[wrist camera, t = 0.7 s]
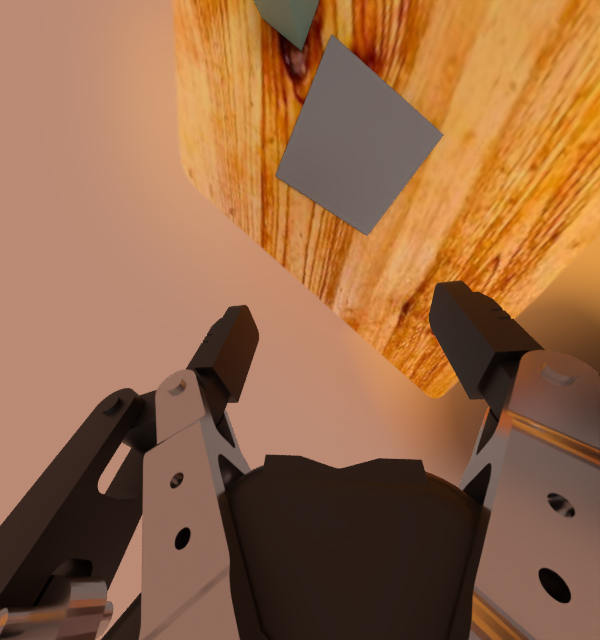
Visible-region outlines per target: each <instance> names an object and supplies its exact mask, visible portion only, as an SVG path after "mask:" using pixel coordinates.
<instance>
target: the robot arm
mask: <svg viewBox="0 0 600 640" xmlns="http://www.w3.org/2000/svg"><path fill="white" fill-rule="evenodd" d="M429 323H430V327H431V329H432V331H433V333H434V335H435V336H436V338H437V340H438V342H439V344H440V346H441V347H442V349H443V351H444V353H445V355H446V357H447V358H448V360H449V362H450V364H451V366H452V368H453V369H454V371H455V373H456V375H457V377H458V379H459V380H460V382H461V383H462V386H463V388H464V389H465V391H466V393H467V395H468V397H469V399H485V400H486V402H487V403H488V405H489V407H488V409H487V411H486V413H485V417H484V420H483V423H482V426H481V429H480V432H479V435H478V439H477V442H476V445H475V448H474V451H473V454H472V457H471V460H470V462H469V464H468V466H467V468H466V470H465V472H464V474H463V477H462V479H461V482H460V484H459V487H456V486H455V485H453V484H451V483H449V482H448V481H446V480H444V479H442V478H440V477H438V476H435V475H433V474H431V473H428V472H425V470H424V466H423V463H422V460H411V459H382V458H379V459H375V460H371V461H368V462H364V463H360V464H356V465H353V466H349V467H346V468H341V469H338V468H334V467H331V466H328V465H325V464H322V463H319V462H316V461H314V460H311V459H308V458H305V457H302V456H291V455H288V456H287V455H266V457H265V462H264V465H263V466H260V467H258V468H256V469H253V470H252V471H251V470H250V468H249V466H248V463H247V462H246V460H245V458H244V457H243V455H242V453H241V451H240V448H239V445H238V442H237V439H236V437H235V434H234V431H233V428H232V425H231V422H230V420H229V417H228V414H227V412H226V410H225V408H226V405H227V403H237V402H238V401H239V398H240V395H241V392H242V389H243V386H244V383H245V380H246V377H247V374H248V371H249V368H250V365H251V362H252V359H253V356H254V353H255V350H256V347H257V344H258V341H259V332H258V329H257V326H256V324H255V322H254V320H253V317H252V315H251V313H250V310H249V308H248V307H247V306H246V305H241V306H231V307H229V308H228V309H227V311H226V313H225V314H224V316H223V318H220V319H219V320H218V321H217V322H216V323H215V324H214V325H213V326H212V327H211V329H210V330H209V332H208V333H207V336H206V337H205V339H204V340H203V343H201V345H200V347H199V348H198V350H197V352H196V353H195V355H194V356H193V358H192V360H191V361H190V363H189V365H188V367H187V368H186V370H181V371H178V372H176V373H174V374H172V375H170V376H169V377H168V378H166V379H165V380H164V381H163V383H162V384H161V385H160V386H159V388H158V389H157V390H155V391H152V392H149V393H146V394H143V395H138V394H137V393H136V392H135V391H133V390H132V389H130V388H125V389H121V390H118V391H116V392H114V393H112V394H111V395H109V396H108V397H106V398H105V399H104V400H103V401H101V402H100V403H99V404H98V405H97V407H96V408H95V409H94V410H93V412H92V413H91V414H90V415H89V417H88V418H87V419H86V420H85V422H84V423H83V424H82V425H81V426H80V428H79V429H78V430H77V432H76V433H75V434H74V435H73V436H72V438H71V439H70V440H69V441H68V443H67V444H66V445H65V446H64V447H63V449H62V450H61V451H60V452H59V454H58V455H57V456H56V457H55V459H54V460H53V461H52V462H51V464H50V465H49V466H48V467H47V469H46V470H45V471H44V472H43V474H42V475H41V476H40V477H39V479H38V480H37V481H36V482H35V484H34V485H33V486H32V487H31V489H30V490H29V491H28V492H27V493H26V495H25V496H24V497H23V499H22V500H21V501H20V502H19V503H18V505H17V506H16V507H15V508H14V510H13V511H12V512H11V513H10V515H9V516H8V517H7V518H6V519H5V521H4V522H3V523H2V524H1V526H0V640H95V639H97V638H98V637H99V636H100V635H102V633H103V632H104V631H105V629H106V628H107V627H108V625H109V622H110V620H111V618H112V614H113V604H112V602H110V601H107V591H108V589H109V587H110V585H111V582H112V580H113V578H114V576H115V574H116V571H117V569H118V567H119V565H120V562H121V560H122V558H123V556H124V554H125V551H126V549H127V547H128V545H129V542H130V540H131V538H132V536H133V534H134V531H135V529H136V527H137V525H138V522H139V520H140V518H141V516H142V514H143V519H142V522H143V523H142V592H141V593H140V594H139V595H138V596H137V598H136V599H135V600H134V601H133V602H132V604H131V605H130V606H129V607H128V608H127V610H126V611H125V612H124V613H123V614H122V615H121V617H120V618H119V619H118V620H117V621H116V622H115V624H114V625H113V626H112V627H111V628H110V630H109V631H108V632H107V633H106V634H105V635H104V637H103V638H102V639H101V640H600V374H598V373H597V372H596V371H595V370H594V369H593V368H591V367H590V366H588V365H587V364H585V363H584V362H582V361H580V360H578V359H576V358H574V357H571V356H569V355H565V354H563V353H559V352H554V351H548V350H545V349H543V348H542V347H541V346H540V345H539V344H538V343H537V342H536V341H535V340H534V339H533V338H532V337H531V336H530V335H529V334H528V333H527V332H526V331H525V330H524V329H523V328H522V327H521V326H520V325H519V324H518V323H517V322H516V321H515V320H514V319H511V316H510V315H509V314H508V313H507V312H506V311H503V310H502V308H501V307H500V306H499V305H498V304H497V303H496V302H495V301H494V300H493V299H492V298H490V297H488V296H486V295H484V294H482V293H480V292H473V291H472V290H471V289H470V288H469V287H468V286H467V285H466V284H465V283H464V282H463V281H461V280H459V281H451V282H442V283H438V284H437V285H436V287H435V290H434V295H433V299H432V304H431V308H430V313H429ZM121 442H122V443H124V444H126V445H128V446H129V447H131V450H130V452H129V453H128V455H127V457H126V458H125V460H124V462H123V464H122V465H121V467H120V469H119V470H118V472H117V474H116V476H115V477H114V479H113V481H112V482H111V484H110V486H109V488H108V490H107V491H106V493H105V494H101V493H100V492H99V491H98V481H99V478H100V476H101V474H102V473H103V471H104V469H105V468H106V466H107V464H108V463H109V461H110V460H111V458H112V457H113V455H114V453H115V452H116V450H117V448H118V447H119V445H120V444H121Z"/></svg>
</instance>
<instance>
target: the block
mask: <svg viewBox="0 0 600 640" xmlns="http://www.w3.org/2000/svg"><path fill="white" fill-rule="evenodd" d="M254 2H255V4H256V6H257V8H258V10H259V12H260V15H261V17H262V18H263V19H264V20H265V21H266V22H267V23H269V24H270V25H271V26H272V27H273V28H274V29H276V30H277V31H278V32H279V33H280V34H282V35H283V36H284V37H285V38H286V39H288V40H289V41H290V42H291V43H292V44H294V45H295V46H296V47H297V48H298V49H299V50H301V51H302V48H303V46H304V43H305V40H306V37H307V34H308V31H309V29H310V26H311V23H312V20H313V17H314V14H315V11H316V9H317V6H318V3H319V0H254Z"/></svg>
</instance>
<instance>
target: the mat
mask: <svg viewBox="0 0 600 640" xmlns="http://www.w3.org/2000/svg"><path fill="white" fill-rule="evenodd" d="M442 136H443V134H442V133H441V132H440V131H439V130H438V129H437V128H436V127H434V126H433V125H432V124H431V123H430V122H429V121H428V120H427V119H426V118H424V117H423V116H422V115H421V114H420V113H419V112H418V111H417V110H416V109H414V108H413V107H412V106H411V105H410V104H409V103H408V102H407V101H406V100H404V99H403V98H402V97H401V96H400V95H399V94H398V93H397V92H396V91H394V90H393V89H392V88H391V87H390V86H389V85H388V84H387V83H386V82H384V81H383V80H382V79H381V78H380V77H379V76H378V75H377V74H375V73H374V72H373V71H372V70H371V69H370V68H369V67H368V66H367V65H365V64H364V63H363V62H362V61H361V60H360V59H359V58H358V57H357V56H355V55H354V54H353V53H352V52H351V51H350V50H349V49H348V48H347V47H345V46H344V45H343V44H342V43H341V42H340V41H339V40H338V39H337V38H335V37H334V36H333V35H331V37H330V40H329V42H328V45H327V47H326V50H325V52H324V55H323V57H322V60H321V62H320V65H319V67H318V70H317V72H316V75H315V78H314V80H313V83H312V85H311V88H310V90H309V93H308V95H307V98H306V100H305V103H304V105H303V108H302V110H301V113H300V115H299V118H298V120H297V123H296V125H295V128H294V130H293V133H292V135H291V138H290V140H289V143H288V145H287V148H286V150H285V153H284V155H283V158H282V161H281V163H280V166H279V168H278V171H277V173H276V177H278V178H279V179H281V180H282V181H284V182H285V183H287V184H288V185H290V186H291V187H293V188H295V189H296V190H298V191H299V192H301V193H302V194H304V195H305V196H307V197H308V198H310V199H311V200H313V201H314V202H316V203H318V204H319V205H321V206H322V207H324V208H325V209H327V210H328V211H330V212H331V213H333V214H334V215H336V216H338V217H339V218H341V219H342V220H344V221H345V222H347V223H348V224H350V225H351V226H353V227H354V228H356V229H358V230H359V231H361V232H362V233H364V234H365V235H367V236H368V234H369V233H370V232H371V230H372V229H373V228H374V227H375V225H376V224H377V223H378V221H379V220H380V219H381V217H382V216H383V215H384V213H385V212H386V211H387V209H388V208H389V207H390V205H391V204H392V203H393V201H394V200H395V199H396V197H397V196H398V195H399V193H400V192H401V191H402V189H403V188H404V187H405V185H406V184H407V183H408V181H409V180H410V179H411V177H412V176H413V175H414V174H415V172H416V171H417V170H418V168H419V167H420V166H421V164H422V163H423V162H424V160H425V159H426V158H427V156H428V155H429V154H430V152H431V151H432V150H433V148H434V147H435V146H436V144H437V143H438V142H439V140H440V139H441V138H442Z"/></svg>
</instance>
